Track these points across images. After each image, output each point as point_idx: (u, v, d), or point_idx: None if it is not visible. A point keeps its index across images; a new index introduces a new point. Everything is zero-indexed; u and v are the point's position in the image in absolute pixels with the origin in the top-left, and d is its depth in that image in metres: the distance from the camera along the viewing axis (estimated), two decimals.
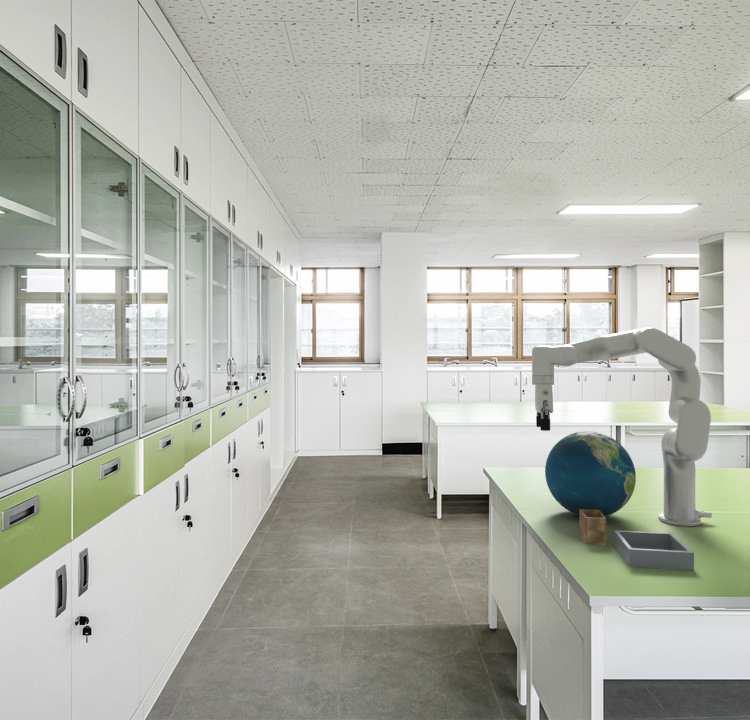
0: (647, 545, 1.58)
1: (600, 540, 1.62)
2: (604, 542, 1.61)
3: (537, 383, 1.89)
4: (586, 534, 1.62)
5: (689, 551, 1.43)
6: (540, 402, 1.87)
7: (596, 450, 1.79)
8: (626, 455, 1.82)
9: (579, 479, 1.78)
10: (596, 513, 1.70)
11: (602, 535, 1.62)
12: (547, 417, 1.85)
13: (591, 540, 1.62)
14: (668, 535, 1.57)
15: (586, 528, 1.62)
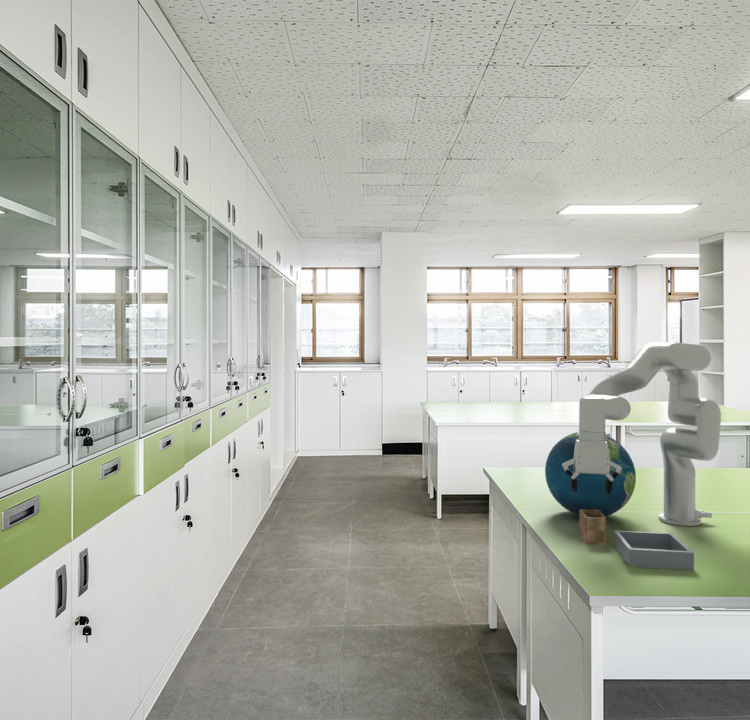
0: (647, 545, 1.58)
1: (600, 540, 1.62)
2: (604, 542, 1.61)
3: (603, 441, 1.63)
4: (586, 534, 1.62)
5: (689, 551, 1.43)
6: (609, 462, 1.64)
7: None
8: (626, 455, 1.82)
9: (579, 479, 1.78)
10: (596, 513, 1.70)
11: (602, 535, 1.62)
12: None
13: (591, 540, 1.62)
14: (668, 535, 1.57)
15: (586, 528, 1.62)
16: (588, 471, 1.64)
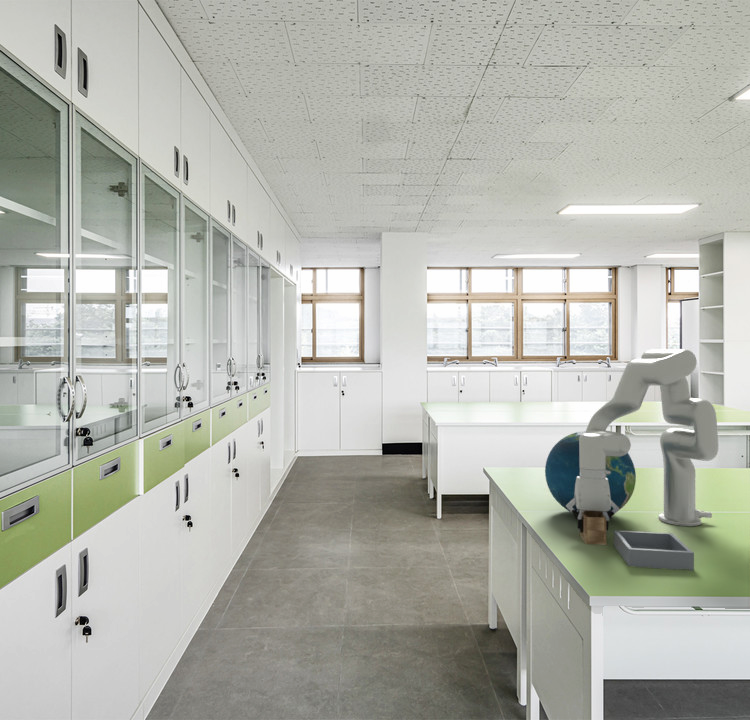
0: (647, 545, 1.58)
1: (600, 540, 1.62)
2: (604, 542, 1.61)
3: (603, 478, 1.63)
4: (586, 534, 1.62)
5: (689, 551, 1.43)
6: (610, 499, 1.64)
7: None
8: (626, 455, 1.82)
9: None
10: (596, 513, 1.70)
11: (602, 535, 1.62)
12: None
13: (591, 540, 1.62)
14: (668, 535, 1.57)
15: (586, 528, 1.62)
16: (589, 508, 1.64)
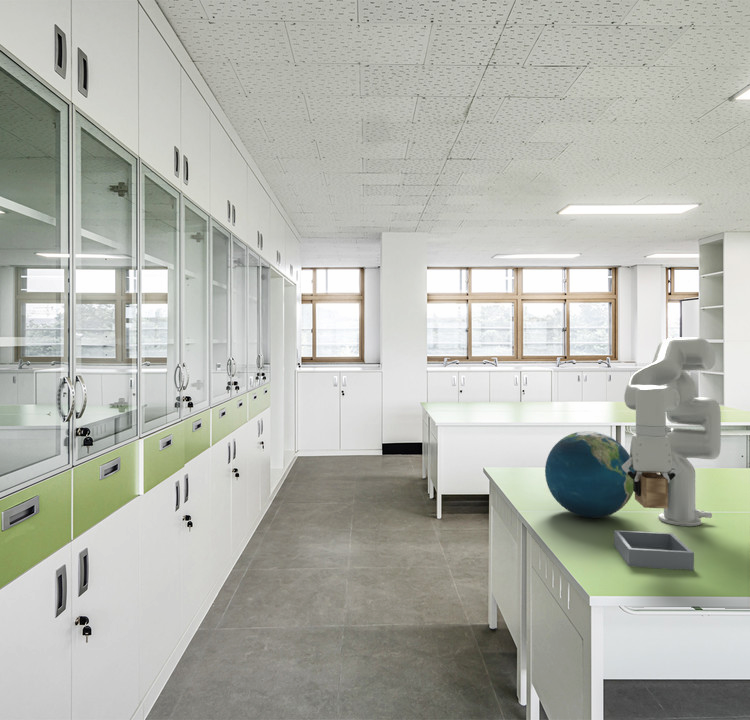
0: (647, 545, 1.58)
1: (661, 503, 1.47)
2: (665, 505, 1.46)
3: (664, 436, 1.48)
4: (645, 497, 1.47)
5: (689, 551, 1.43)
6: (671, 459, 1.49)
7: (596, 450, 1.79)
8: (626, 455, 1.82)
9: (579, 479, 1.78)
10: (653, 475, 1.55)
11: (663, 498, 1.46)
12: None
13: (651, 503, 1.47)
14: (668, 535, 1.57)
15: (645, 490, 1.47)
16: (648, 469, 1.49)
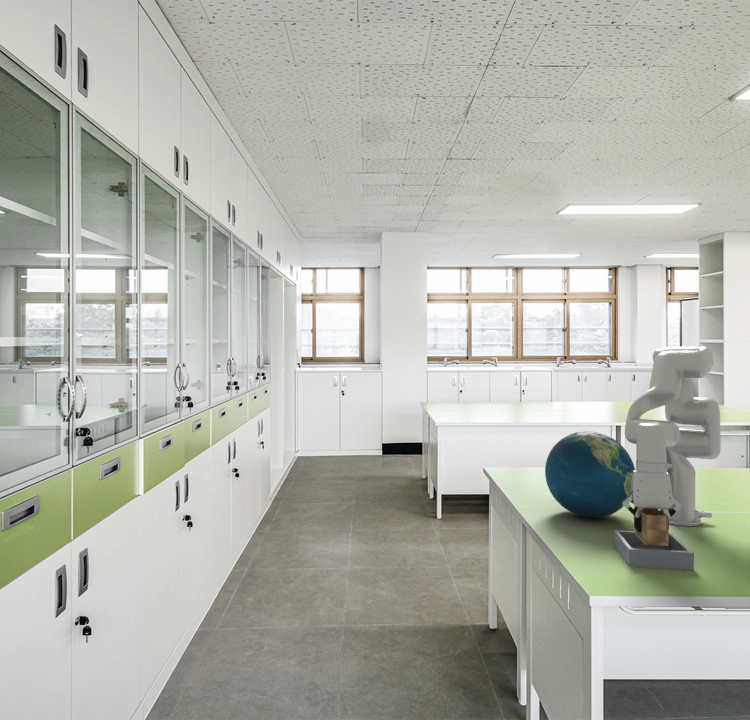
0: (647, 545, 1.58)
1: (661, 540, 1.46)
2: (666, 542, 1.46)
3: (665, 472, 1.48)
4: (646, 534, 1.47)
5: (689, 551, 1.43)
6: (672, 495, 1.49)
7: (596, 450, 1.79)
8: (626, 455, 1.82)
9: (579, 479, 1.78)
10: (654, 511, 1.54)
11: (664, 535, 1.46)
12: None
13: (651, 540, 1.47)
14: None
15: (646, 527, 1.47)
16: (648, 506, 1.49)
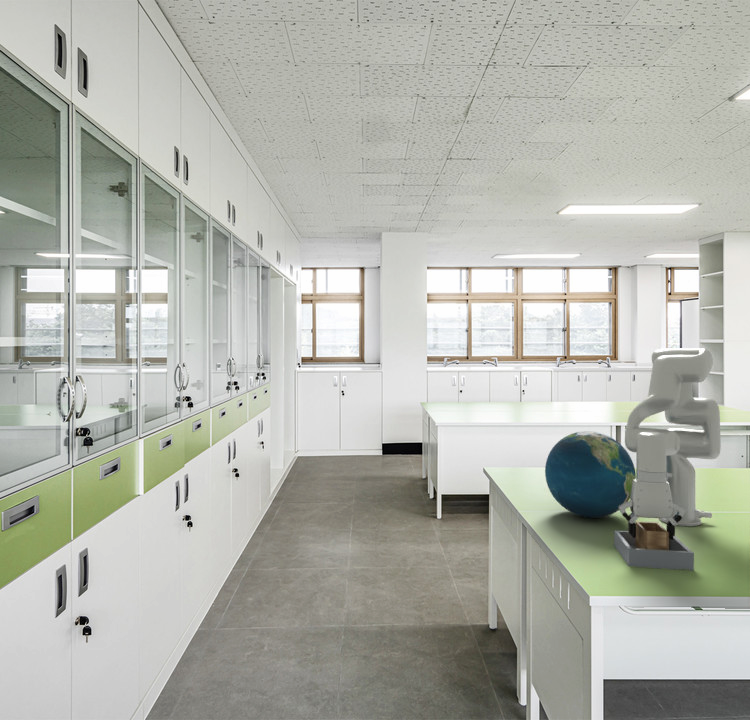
0: None
1: None
2: None
3: (665, 482, 1.48)
4: None
5: (689, 551, 1.43)
6: (672, 505, 1.49)
7: (596, 450, 1.79)
8: (626, 455, 1.82)
9: (579, 479, 1.78)
10: (654, 526, 1.55)
11: None
12: None
13: None
14: None
15: (646, 543, 1.47)
16: (648, 515, 1.49)
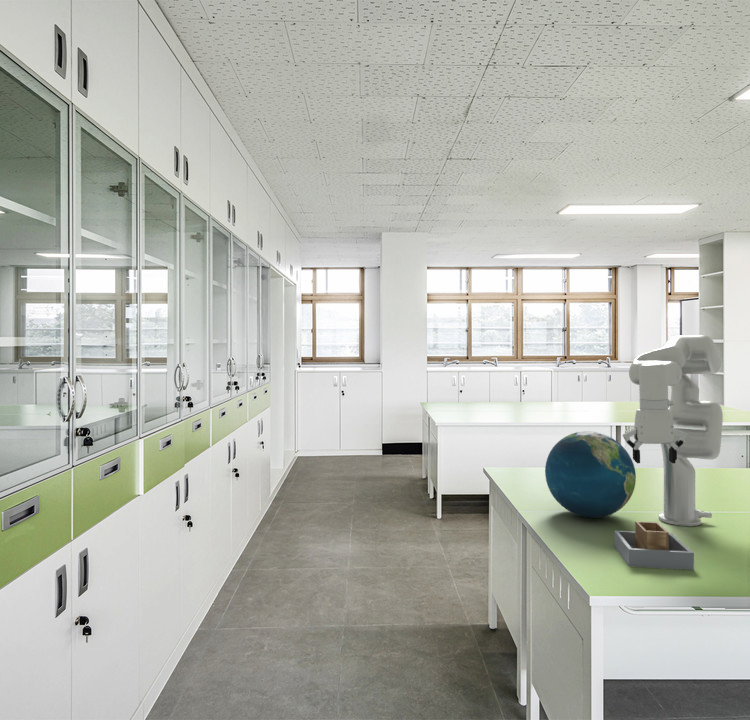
0: None
1: None
2: None
3: (667, 409, 1.56)
4: None
5: (689, 551, 1.43)
6: (674, 430, 1.57)
7: (596, 450, 1.79)
8: (626, 455, 1.82)
9: (579, 479, 1.78)
10: (654, 526, 1.55)
11: None
12: None
13: None
14: None
15: (646, 543, 1.47)
16: (652, 441, 1.58)
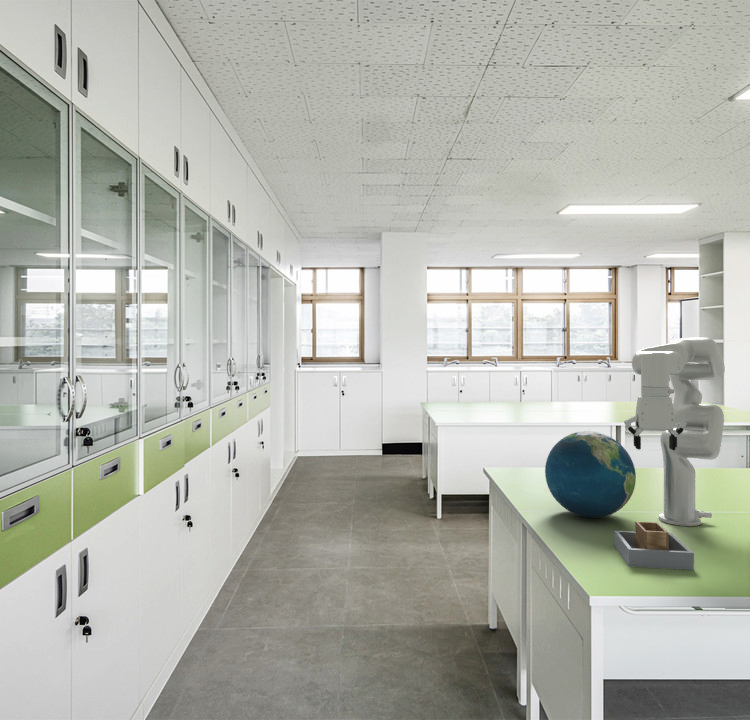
0: None
1: None
2: None
3: (667, 396, 1.60)
4: None
5: (689, 551, 1.43)
6: (674, 418, 1.60)
7: (596, 450, 1.79)
8: (626, 455, 1.82)
9: (579, 479, 1.78)
10: (654, 526, 1.55)
11: None
12: None
13: None
14: None
15: (646, 543, 1.47)
16: (652, 427, 1.61)
